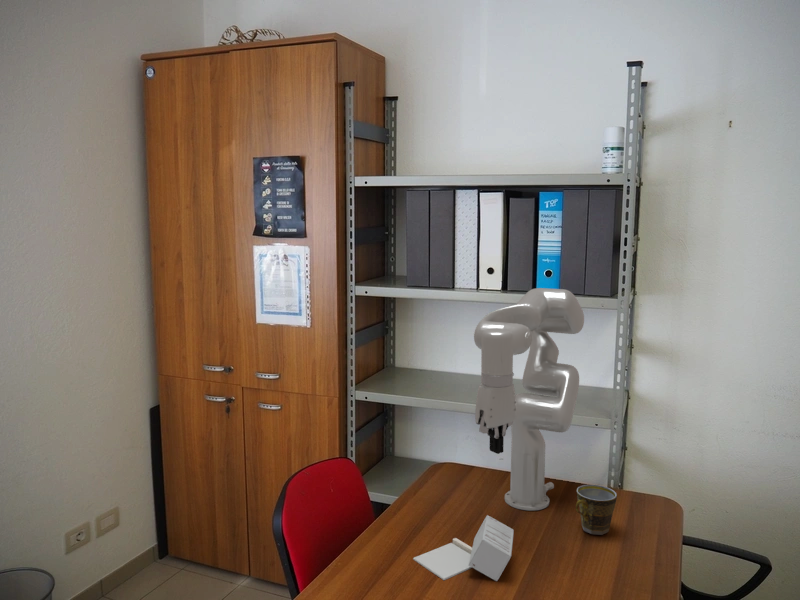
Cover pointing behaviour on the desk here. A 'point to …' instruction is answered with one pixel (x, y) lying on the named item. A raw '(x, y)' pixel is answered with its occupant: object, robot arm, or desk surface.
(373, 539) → the desk surface
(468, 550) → the strip
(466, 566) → the mat
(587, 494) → the ceramic cup
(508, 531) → the supplement box
